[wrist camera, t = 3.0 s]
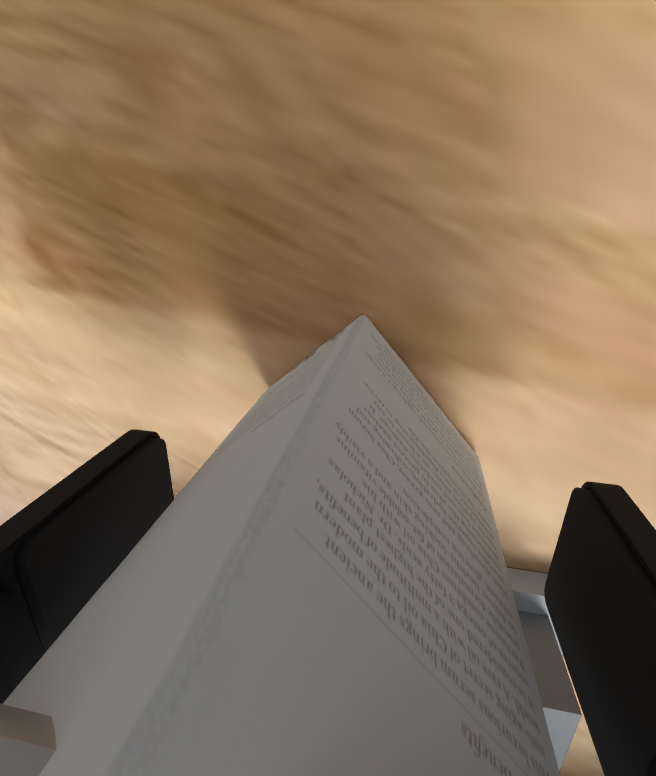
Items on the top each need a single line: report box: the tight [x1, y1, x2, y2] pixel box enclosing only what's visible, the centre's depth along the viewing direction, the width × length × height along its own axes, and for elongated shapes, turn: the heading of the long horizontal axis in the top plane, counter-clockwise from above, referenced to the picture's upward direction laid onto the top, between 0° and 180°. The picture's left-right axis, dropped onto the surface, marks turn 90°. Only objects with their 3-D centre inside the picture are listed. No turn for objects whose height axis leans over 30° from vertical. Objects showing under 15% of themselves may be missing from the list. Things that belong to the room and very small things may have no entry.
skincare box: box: [3, 315, 560, 776], centre depth 8 cm, size 6×4×12 cm
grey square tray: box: [507, 568, 582, 771], centre depth 16 cm, size 14×14×4 cm
